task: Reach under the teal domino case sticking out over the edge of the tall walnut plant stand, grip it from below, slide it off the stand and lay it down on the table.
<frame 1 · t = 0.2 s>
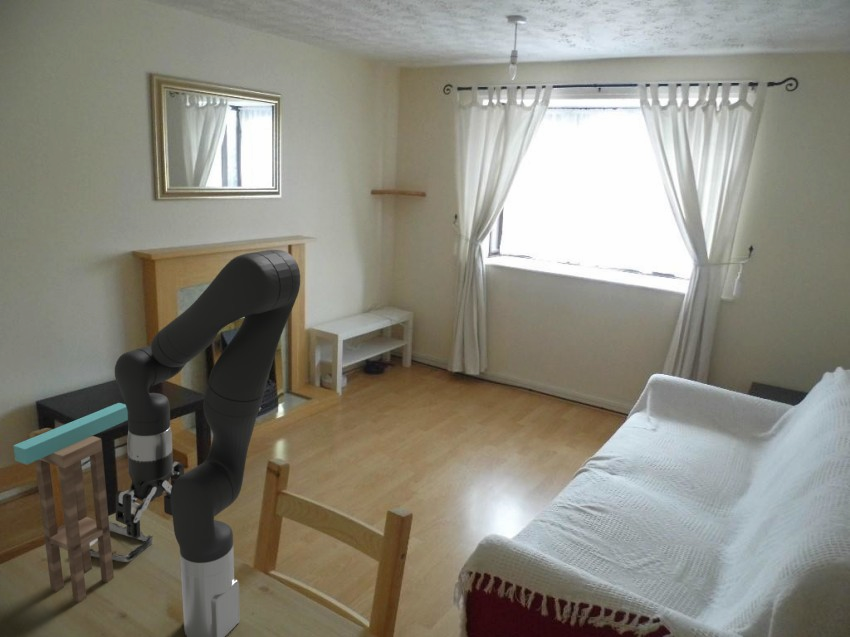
hand: (152, 524, 114), 17 cm above the table, tool pointing down, fingers open, 8 cm apart
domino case: (77, 438, 116), point 32 cm above the table, touching walnut stand
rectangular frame: (116, 550, 133), on the table
walnut stand: (83, 583, 122), on the table
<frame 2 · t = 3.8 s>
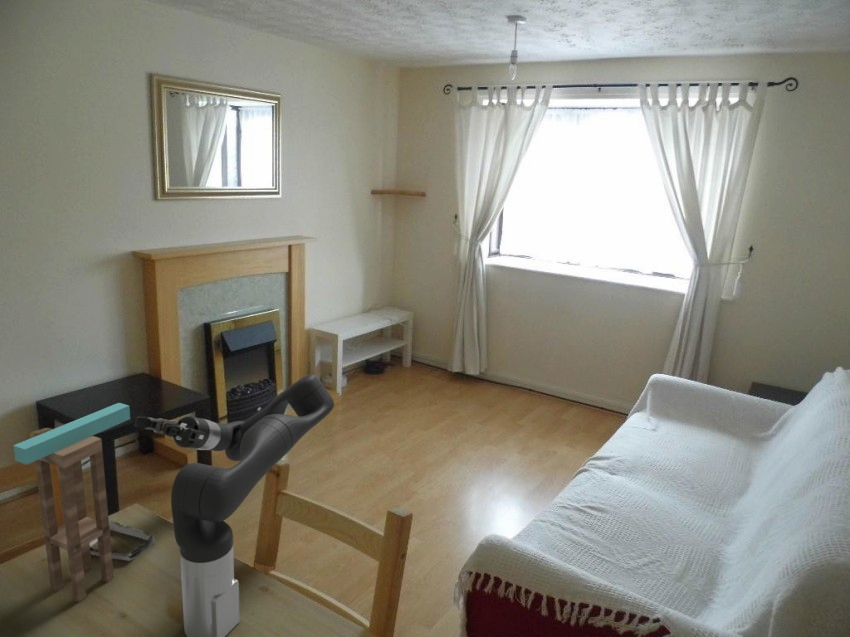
hand: (150, 425, 132), 27 cm above the table, tool pointing upward, fingers open, 8 cm apart
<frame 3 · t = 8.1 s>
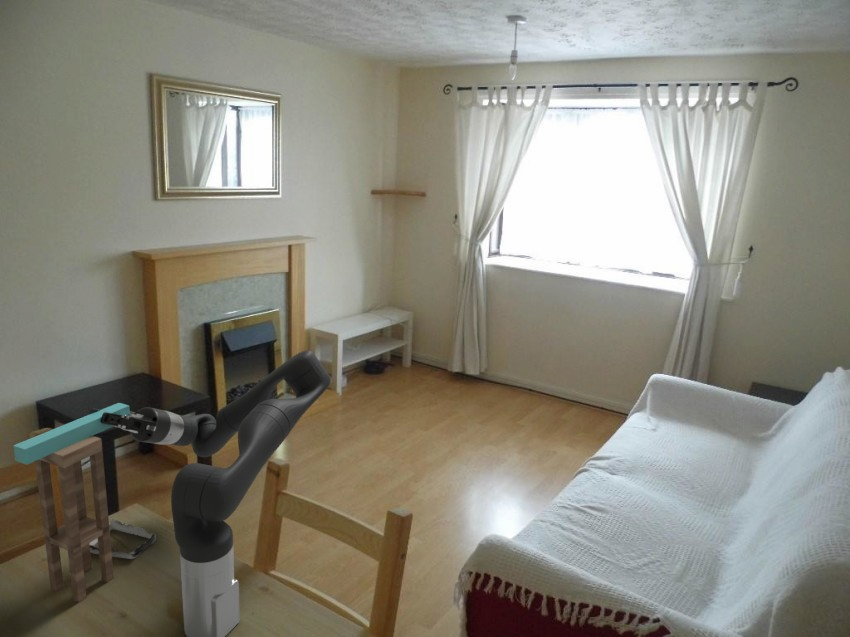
hand: (96, 415, 119), 35 cm above the table, tool pointing upward, fingers closed on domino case, 3 cm apart
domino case: (77, 438, 116), point 32 cm above the table, touching gripper, walnut stand
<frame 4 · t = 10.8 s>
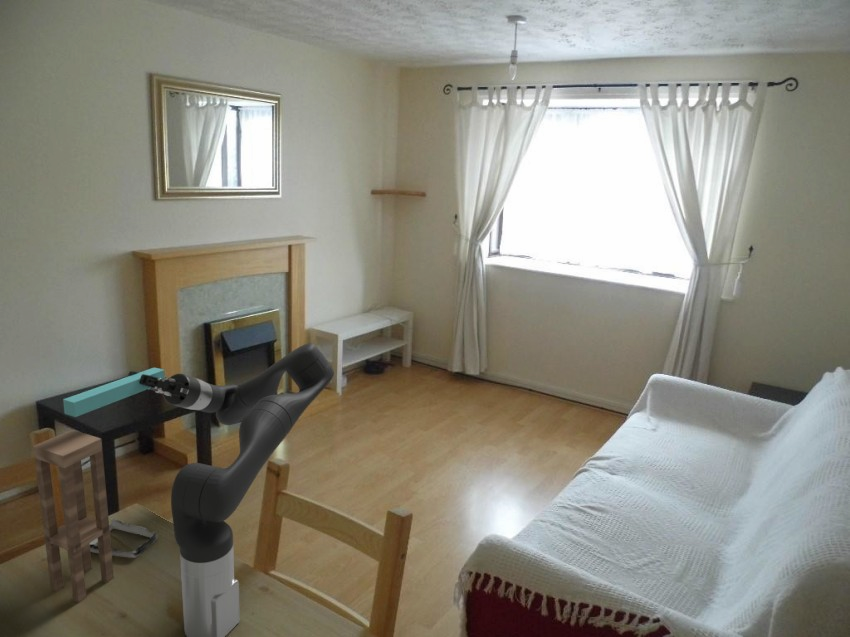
hand: (135, 377, 128), 39 cm above the table, tool pointing upward, fingers closed on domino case, 3 cm apart
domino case: (118, 396, 125), point 36 cm above the table, touching gripper
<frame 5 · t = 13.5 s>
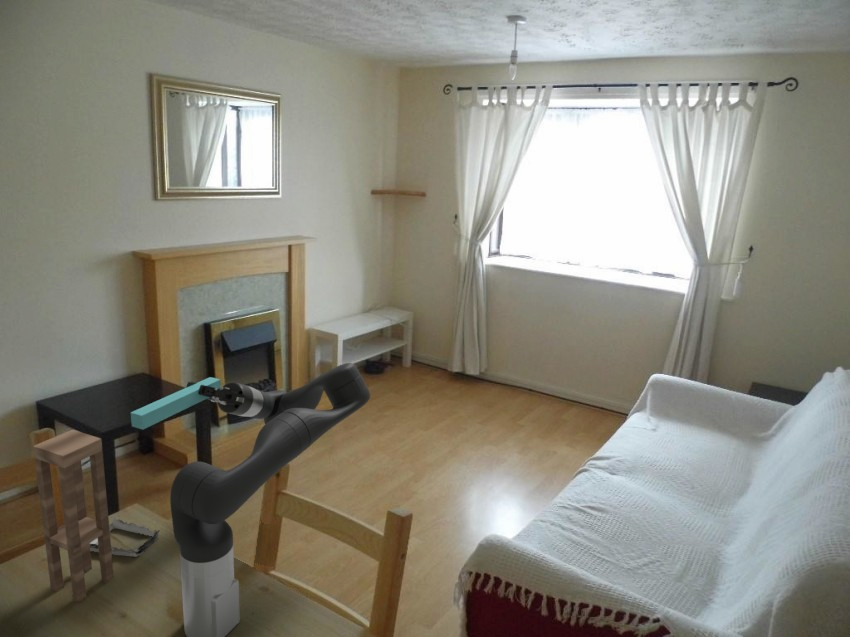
hand: (194, 388, 131), 37 cm above the table, tool pointing upward, fingers closed on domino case, 3 cm apart
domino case: (179, 407, 128), point 34 cm above the table, touching gripper
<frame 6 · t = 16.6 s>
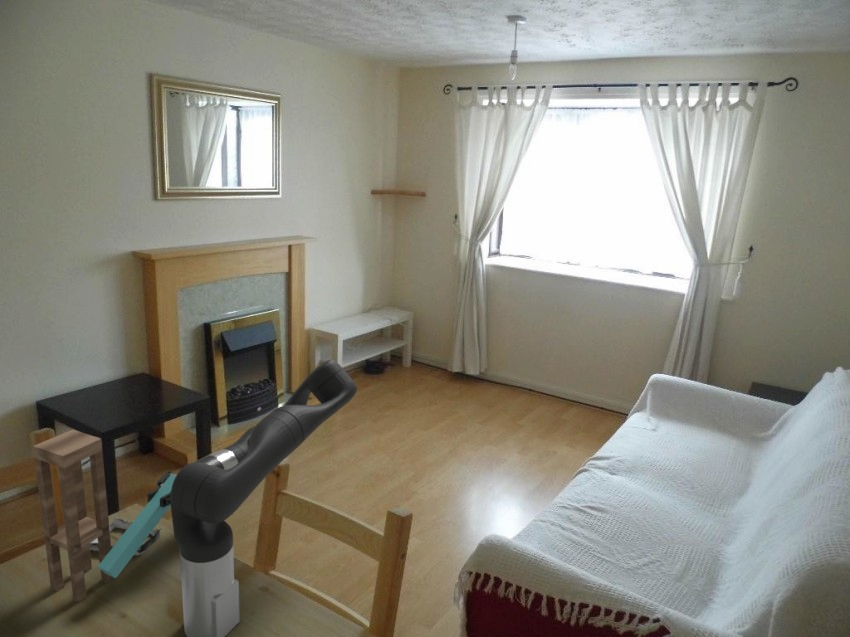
hand: (155, 500, 126), 15 cm above the table, tool horizontal, fingers closed on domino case, 3 cm apart
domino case: (148, 527, 126), point 10 cm above the table, tilted 29°, touching gripper
when the fingers open (8 cm above the table, at t = 19.2 s): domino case drops 4 cm, on the table.
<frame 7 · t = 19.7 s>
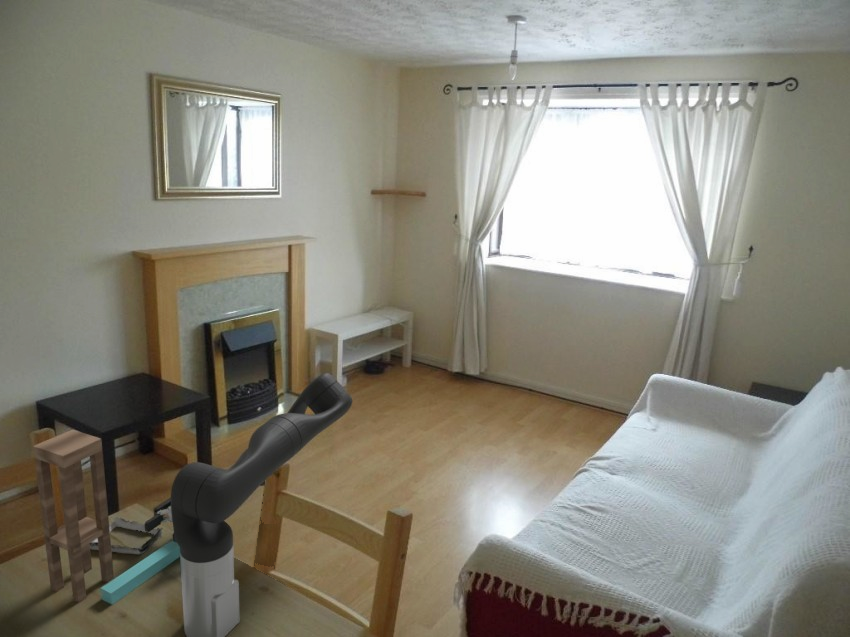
hand: (159, 533, 128), 8 cm above the table, tool horizontal, fingers open, 7 cm apart
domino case: (153, 571, 127), on the table
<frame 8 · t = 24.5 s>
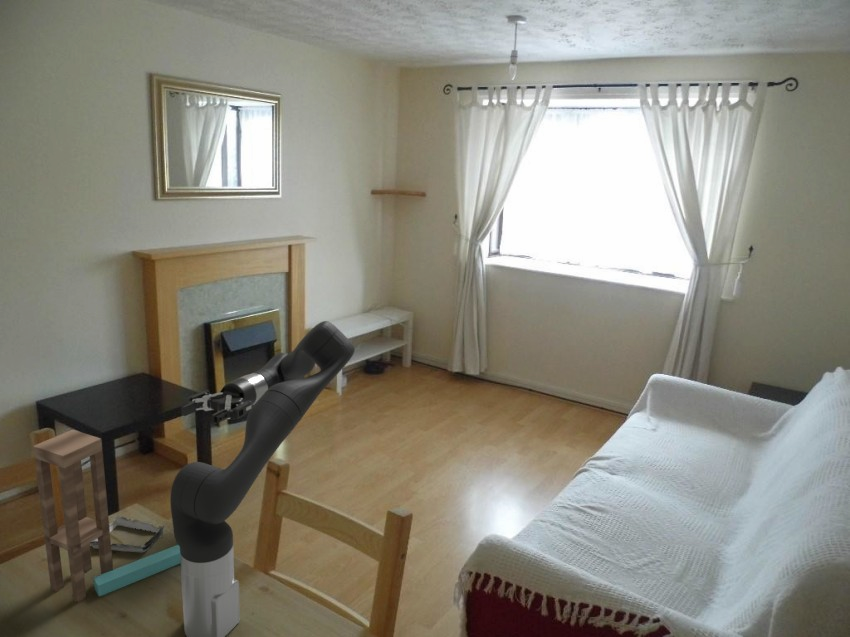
hand: (197, 416, 133), 30 cm above the table, tool horizontal, fingers open, 8 cm apart
at the end: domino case inside the target area (0.7 cm from its centre), on the table; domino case touching table; the gripper is holding nothing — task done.
